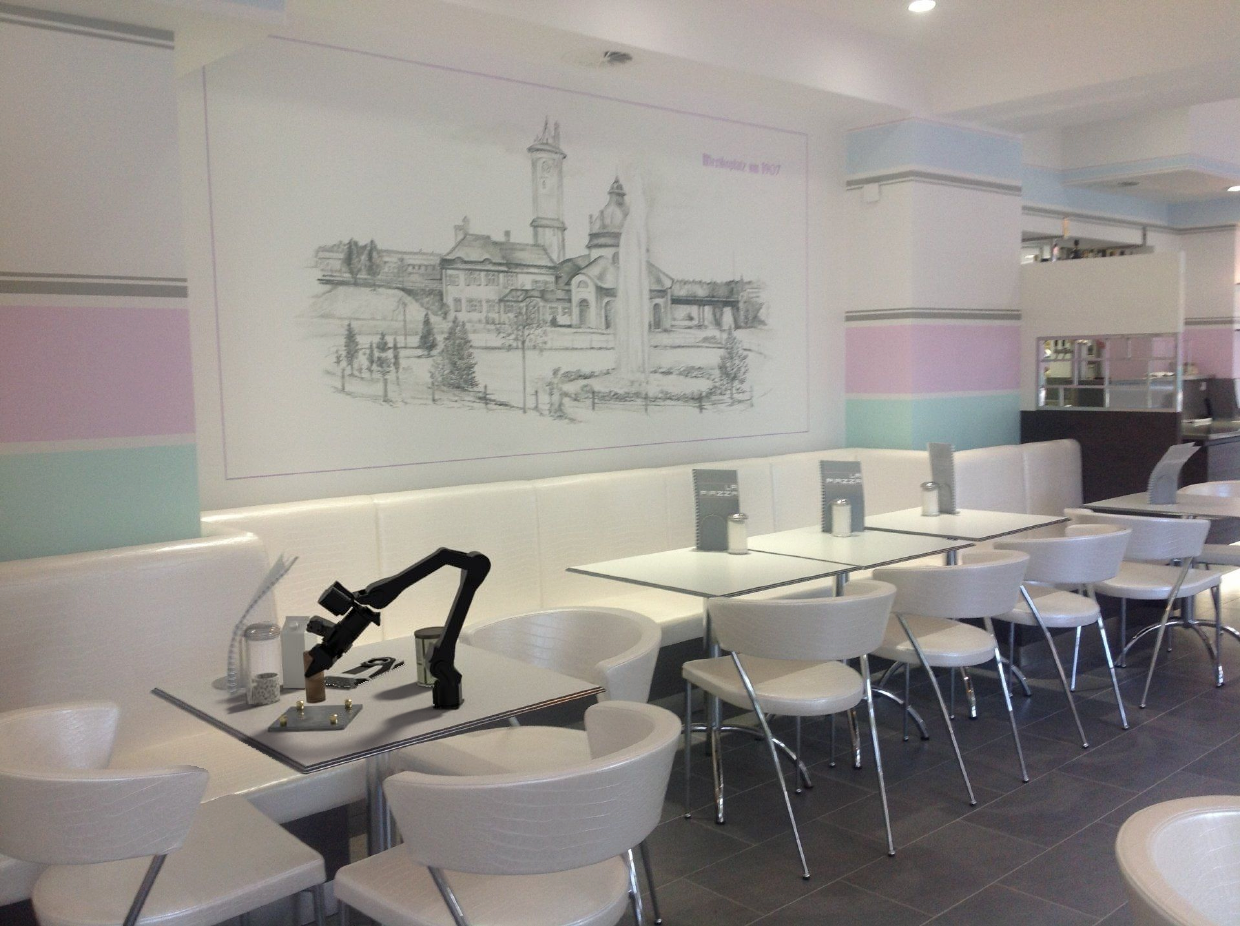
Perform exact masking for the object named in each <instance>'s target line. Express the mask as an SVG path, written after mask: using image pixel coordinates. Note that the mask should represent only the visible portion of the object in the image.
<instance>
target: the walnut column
mask: <svg viewBox="0 0 1240 926" xmlns="http://www.w3.org/2000/svg"><path fill="white" fill-rule="evenodd" d="M309 651H310V650H308V651H305V652H303V662H304V674H305V672H306V671H307V669H308V667H309V665H310V663H311V662H312V660H313V658H312V657H311V656H310V655H309V654H308V652H309ZM324 671H325V670H324ZM324 671H322V672H320V673H318V674H315V675H313V676H311V677H309V678H306V677H305V688H304V689H305V700H306V703H307V704H319V703H323V702H325V701H326V700H327V699H326V686H325V681H324V677H325V672H324Z"/></svg>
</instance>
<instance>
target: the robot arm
mask: <svg viewBox="0 0 1240 926" xmlns="http://www.w3.org/2000/svg"><path fill="white" fill-rule="evenodd" d="M446 566H450V567H453V568H457V569H460V578H459V586H458V589H457V590H456V594H455V596H454V599H453V601H452V604H451V607H450V609H449V612H448V615H447V617H446V620H445V622H444V625H443V626H444V628H443V630H442V633H441V635H440V637H439V639H438V640H437V641H436V643H435V644H434V643H432V642H429V645H428V650H427V652H426V654H425V655H424V658H425V666H426V668H427V670H428V671H429V672H430V674H431V675H432V676H433V677H435V678H437V680H436V681H435V682H434V687H431V688H432V689H431V693H432V695H431V697H432V704H433V706H432V709H434V710H439V709H440V710H441V709H443V710H447V709H448V710H449V709H459V708H460V707H461V706H462V705H463V703H464V702H465V698H463V685H462V681H463V680H462V679H463V675H462V673H461V672H460V671H459V670H458V669H457V668H456V666H455V659H456V646H457V642H458V639H459V638H460V633H461V632H462V629H463V626H464V623H465V621H466V618H467V615H468V613H469V611H470V608H471V605H472V602H473V600H474V597H475V595H476V591H477V590H478V589H479V587H480V586H481V585H482V584H483V583H484V582H485V580H486V579H487V576H488V575H489V573H490V571H491V568H492V562H491V560H490V558H489V557H488V556H487V555H485V554H484V553H482V552H480V551H478V550H473V551H469V552H466V551H462V550H457V549H450V548H448V547H445V546H440V547H438V548H437V549H436V550H435V551H433V552H432V553H430V554H428V555H427V556H425V557H423V558H421V559H420V560H418V561H417V562H415V563H413V564H412V565H409V567H407V568H404V569H403V570H401V571H400V572H398V573H396V574H394V575H390V576H388V577H387V576H386V577H384V578H382V579H379V580H376V581H373V582H371V583H369V584H368V585H367V586H366V587H365V588H363V589H359V590H355V591H350V590H349V589H347V588H346V587H345V586H343V585H342V583H341V582H340V581H338V580H335V581H334V582H333V583H332V584H331V585H329V586H328V587H327V588H326V589H325V590H323V592H322V593H321V595H320V596H319V598H318V600H317V604H318V605H320V606H321V607H322V608H324V609H325V610H326V611H328V612H329V613H330V614H332V615H333V616H334V617H335V618H336V617H339V616H341V617H342V616H343V618H341V620H338V622H337V623H335V622H333V621H332V620H329V619H327V618H325V617H323V616H319V615H316V614H314V615H312V617H310V621H309V623H308V624H307V628H306V631H307V632H309V633H314V634H316V635H317V636H319V637H322V638H321V643H320V642H319V643H318V644H316V645H315V646H314V647H313V648H312V649H311V650H310V651H309V652H308V654H309V655H310V656H311V657H312V658H313V660H312V662H311V663H310V665H309V667H308V669H307V671H306V672H305V674H304V676H305V677H306V678H309V677H311V676H313V675H315V674H318V673H320V672H322V671H329V670H330V669H331V668H332V667H333V666H334V665H335V664H336V663H337V661H338V660H340V659H341V658H343V656H344V655H343V654H345V655H346V654H347V653H348V652H349V651H350V650H351V648H352V647H353V646H354V645H353V643H354V642H356V640H357V639H358V638H359V637H360V636H361V635H362V633H363V632H364V631H365V630H366V629H367V628H368V627H369V626H370V625H371V623H373V624H375V626H377V627H380V626H381V623H382V619H381V616H382V615H381V614H382V613H381V611H374V610H383V609H385V608H387V607H388V606H389V605H390V604H391V603H392V602H394V601H395V600H396V599H397V598H398V597H399V596H400V595H401V594H402V593H403V592H404V591H405V590H406V589H408V588H409V587H411V586H413V585H414V584H416V583H418V582H420V581H421V580H423V579H425V578H427V577H428V576H430V575H431V574H433V573H434V572H436V571H438V570H440V569H441V568H443V567H446ZM369 606H370V607H369ZM373 609H374V610H373ZM453 664H454V666H453ZM446 708H447V709H446Z"/></svg>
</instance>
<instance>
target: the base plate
mask: <svg viewBox="0 0 1240 926" xmlns="http://www.w3.org/2000/svg"><path fill="white" fill-rule="evenodd" d="M362 709H363V703H359V704H358V703H357V704H352V698H346V699H344V704H331V705H329V704H327V705H305V706H304V700H297V701H296V705H295V706H293V705H292V706H290V707H288V709H286V710H285V711H284V712H283V713H282V714H281V715H280V716H279V717H278V718H277V719H276V720H274V721H273V722H272V723H271V724H269V726H268V727H267V730H268V733H269V732H291V731H292V732H295V731H323V730H329V731H330V730H345V729H346V728H347V727H348V725H349V724H350V723H351V722H352V721H353V720H354V719H355V718H356V716H358V714H359V713H360V712H361V711H362Z"/></svg>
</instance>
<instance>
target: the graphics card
mask: <svg viewBox="0 0 1240 926" xmlns="http://www.w3.org/2000/svg"><path fill="white" fill-rule="evenodd" d="M403 664H404V665H405V659H403V658H402V657H401V656H397V657H396V656H393V655H388V656H386V655H378V656H374V657H372V658H370V659H367V660H366V661H363V662H361V663H359V664H355V665H353V666H351V667H348V668H346V669H344V670H342V671H337V672H334V673H332V674H329V675H326V676H325V675H324V681H325V685H326V684H328V685H329V684H330V685H333V684H334V685H338V686H350V687H355V688H354V689H357V687H358V686H359V685H358V684H361V683H363V682H365V681H368V682H370V681H371V680H370V679H372V680H373V678H374V679H376V678H375V677H377V676H379V675H381V676H383V675H384V674H383V673H385V674H387V673H386V672H388V673H390V672H391V671H390V670H392V671H394V670H395V669H394V668H396V669H398V668H399V667H398V666H401V665H403ZM404 665H403V666H404ZM397 667H398V668H397ZM401 667H402V666H401ZM393 669H394V670H393ZM389 671H390V672H389ZM382 674H383V675H382ZM379 677H380V676H379ZM377 678H378V677H377ZM369 680H370V681H369ZM365 683H366V682H365ZM363 684H364V683H363ZM328 685H327V686H328ZM330 685H329V686H330ZM357 685H358V686H357ZM361 685H362V684H361ZM338 686H337V687H338ZM350 687H349V688H350Z"/></svg>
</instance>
